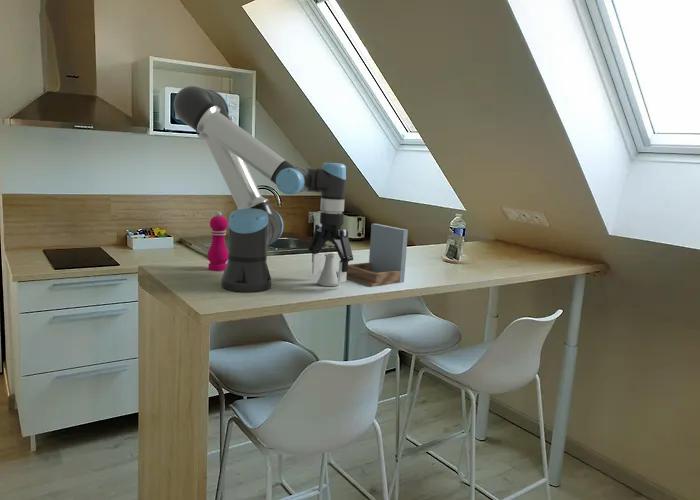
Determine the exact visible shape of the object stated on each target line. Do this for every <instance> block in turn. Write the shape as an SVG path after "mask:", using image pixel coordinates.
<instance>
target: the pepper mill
mask: <svg viewBox="0 0 700 500" xmlns="http://www.w3.org/2000/svg"><path fill="white" fill-rule="evenodd" d="M222 215H223V213H222V212H221V211H217V212H216V214H215V216H213V217H211V219H210V220H209V227H210V228H211V230H210V232H211V233H210V235H211V237H212V238H211V245H210V247H209V249H208V251H207V254H206V255H207V256H206V258H207V260H208V262H209V263H208V270H210V271H212V270H214V271H215V272H222V271H223V270H224V271H225V268H226V265H227V262H228V248H227V246H226V242H225V239H226V238H225V237H226V235H227V234H226V232H227V230H226V229H227V228H228V227H229V226H228V223H229V221H228V219H227V218H226V217H224V216H222ZM214 271H213V272H214Z"/></svg>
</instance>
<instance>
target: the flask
mask: <svg viewBox="0 0 700 500" xmlns="http://www.w3.org/2000/svg"><path fill="white" fill-rule="evenodd" d="M324 256H325V261H324V266H323V268H322V271H321V272H320V275H319V278H318V280H317V282H316V284H317V285H319V286H323V287H336V286H339V284H340V282H338V273H337V272H336V268H335V261H334V259H335V258H334V257H335V253H332V252H331V253H324Z"/></svg>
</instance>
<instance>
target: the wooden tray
mask: <svg viewBox="0 0 700 500" xmlns="http://www.w3.org/2000/svg"><path fill="white" fill-rule="evenodd" d="M371 267H372V263H369V262H362V263H361V262H360V263H351V264H348V271H347V275H346V280H349V281H353V282H354V283H355V282H356V283H359V284H362V285H366V286H368V287H371V288H372V287H377V286H379V287H380V286H386V285H393V284H400V274H401V271H398V270H396V271H388V272H380V273H375V272H371Z"/></svg>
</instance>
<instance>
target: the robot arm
mask: <svg viewBox="0 0 700 500" xmlns="http://www.w3.org/2000/svg"><path fill="white" fill-rule="evenodd" d="M174 97H175V98H174V100H173V110H174V113H175V115H176V116H177V118H178V119H179V120H180V121H181V122H183V123H184V124H185V125H187V126H189V127H190V128H191V129H193V130H194V131H195V133H196V135H197V136H198V138H199V139H200V140H201V139H202V140H204V141H205V143H206V144H207V146H208V149H209V150H210V153H211V154H212V156H213V159H214V161H215V163H216V166H217V167H218V170H219V171H220V173H221V176H222V177H223V178H222V179H224V182H225V183H226V184H225V185H226V186H227V188H228V191H229V192H230V195H231V197H232V199H233V200H234V203H235V205H236V207H237V209H236V210H233V211H231V213H230V214H229V217H228V219H229V220H228V226H227V227H228V239H227V241H228V242H227V243H228V244H227V247H228V248H227V251H228V260H227V262H226V264H227V265H226V268H225V270H224V272H223V274H222V277H221V284H220V285H221V288H222V289H225V290H228V291H234V292H240V293H241V292H243V293H247V292H248V293H253V292H263V291H267V290H270V289H271V288H272V277H271V273H270V270H269V266H268V263H267V256H268V246H271V245H273V244H275V243H276V242H277V241H278V240H279V239H280V237H281V236H282V234H283V232H284V220H283V218H282V216H281V215H280V214H279V212H277V211H276V210H274V208H273V206H272V205H271V203H270V200H269V199H268V198H265V197H263V196H262V194H261V192H260V189H259V188H258V186H257V183H256V181H255V179H254V177H253V175H252V173H251V171H250V169H249V167H248V165H249V166H250V167H251V168H253V169H254V170H256V171H257V172H258V173H260V175H262V176H264V177H265V178H267V179H268V180H269V181H271V182H272V183H273V184H275V185H276V187H277V189H278V190H279V191H280V192H281V193H283V194H285V195H296V194H299V193H303V192H309V193H311V192H312V193H320V210H319V211H320V214H319V223H320V224H319V223H318V224H315V226H314V231H313V235H312V237H311V240H310V242H309V245H308V247H307V250H308V251H310V253H311V262H312V267H311V274H312V275H314V274H321V256H322V254H321V251H322V249H323V247H324V246H325V244H326V243H327V242H330V243H332V244H333V245H334V248H335V250H336V252H337V254H338V257H339V261H338V272H337V278H338V282H339V283H345V282H347V279H346V275H347V271H348V265H349V262H350V261H354V255H353V252H352V248H351V244H350V239H349V231H348V230H349V229H342V226H343V224H344V221H345V220H344V218H345V216H344V213H343V212H344V211H345V199H346V198H345V197H346V196H345V195H346V185H347V183H346V182H347V166H346V165H345V164H344V163H337V162H336V163H335V162H324V163H322V166H321V168H313V167H302V166H301V167H300V166H294V165H293V164H291V162H289V161H287V160H286V159H285V158H283V157H282V156H281V155H280V154H278V153H276V152H275V151H274V150H272V149H271V148H270V147H268V146H266V144H264V143H263V142H261V141H260V140H258V139H257V138H256V137H255V136H253V135H251V134H250V133H249V132H248V131H246V130H245V129H243V128H242V127H241V126H239V125H238V124H237V123H236V122H234V121H232V119H231V118H230V108H229V104H228V102H227V100H226V99H225V98H224V97H223V96H222V95H221V94H220V93H218V92H216V91H215V90H212V89H205V88H204V87H203V88H202V87H200V86H195V85H190V86H186V87H183V88H182V89H180V90H179V91H178V92H177V93H176V95H175V96H174Z"/></svg>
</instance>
